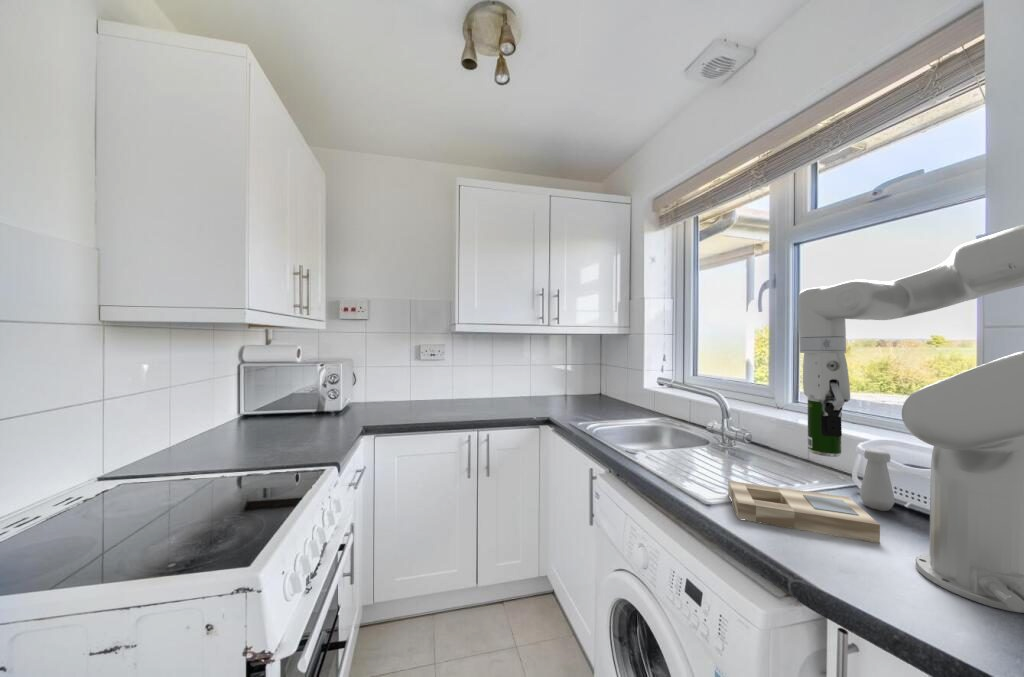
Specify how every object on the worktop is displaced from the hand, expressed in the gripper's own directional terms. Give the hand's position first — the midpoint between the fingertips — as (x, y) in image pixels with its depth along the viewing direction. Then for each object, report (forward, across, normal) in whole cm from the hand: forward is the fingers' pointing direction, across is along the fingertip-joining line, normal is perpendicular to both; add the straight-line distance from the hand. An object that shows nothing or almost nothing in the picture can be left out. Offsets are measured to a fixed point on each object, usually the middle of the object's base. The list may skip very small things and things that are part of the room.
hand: (824, 431), depth 77 cm
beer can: (+5, 0, 0) cm, 5 cm away
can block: (+19, +1, +5) cm, 20 cm away
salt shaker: (+19, +14, -14) cm, 27 cm away
